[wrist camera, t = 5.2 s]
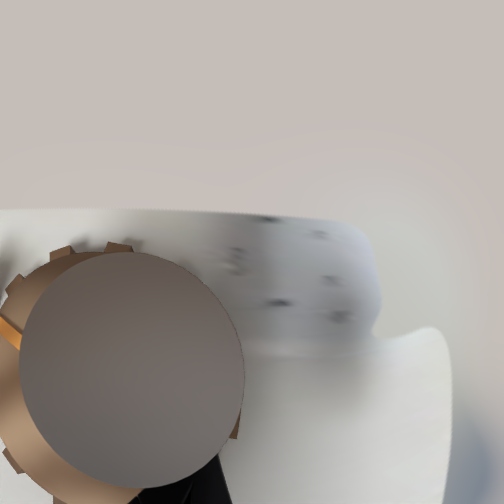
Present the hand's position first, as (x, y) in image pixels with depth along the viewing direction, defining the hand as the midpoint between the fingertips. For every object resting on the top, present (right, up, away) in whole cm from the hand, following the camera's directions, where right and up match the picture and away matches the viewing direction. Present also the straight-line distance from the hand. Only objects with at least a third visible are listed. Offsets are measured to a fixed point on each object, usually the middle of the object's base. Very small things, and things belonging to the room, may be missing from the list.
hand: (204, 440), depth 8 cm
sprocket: (-9, -2, +7) cm, 11 cm away
